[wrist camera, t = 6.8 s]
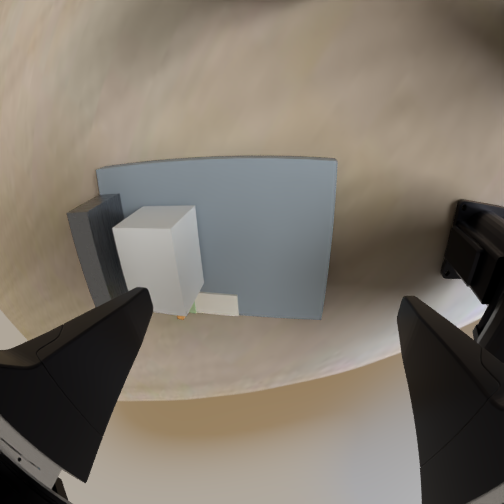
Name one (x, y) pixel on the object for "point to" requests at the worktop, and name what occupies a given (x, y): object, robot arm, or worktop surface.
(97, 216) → the dark grey upright slab
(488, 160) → the worktop surface
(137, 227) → the block
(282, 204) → the board
